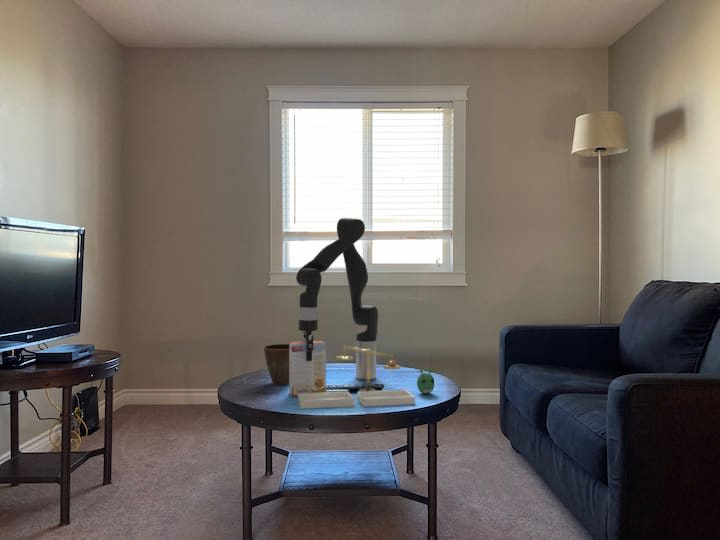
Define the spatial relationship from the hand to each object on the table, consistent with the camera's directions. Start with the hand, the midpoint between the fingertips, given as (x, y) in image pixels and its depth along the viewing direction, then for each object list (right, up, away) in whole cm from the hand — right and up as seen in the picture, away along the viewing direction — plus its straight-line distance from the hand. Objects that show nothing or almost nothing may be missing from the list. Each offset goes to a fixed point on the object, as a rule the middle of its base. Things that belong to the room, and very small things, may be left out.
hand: (307, 359), depth 207 cm
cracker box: (0, -14, 0) cm, 14 cm away
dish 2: (+31, -14, -10) cm, 35 cm away
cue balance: (+24, -14, +1) cm, 28 cm away
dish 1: (+8, -14, -13) cm, 21 cm away
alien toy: (+47, -15, +2) cm, 50 cm away
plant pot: (-13, -14, +19) cm, 27 cm away
